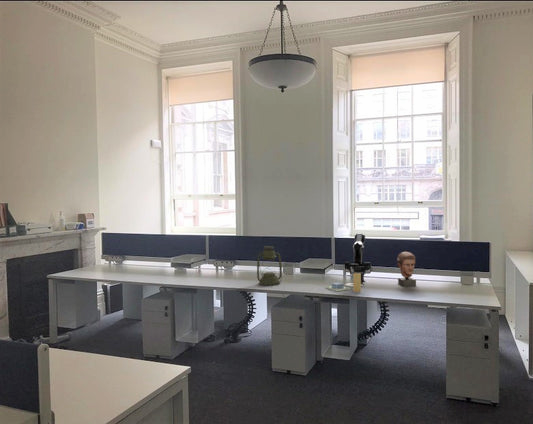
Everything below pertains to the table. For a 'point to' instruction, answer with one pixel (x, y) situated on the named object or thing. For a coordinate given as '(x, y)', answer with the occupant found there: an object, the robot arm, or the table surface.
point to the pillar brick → (357, 282)
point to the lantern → (269, 277)
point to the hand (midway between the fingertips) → (357, 275)
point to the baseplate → (337, 289)
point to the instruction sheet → (351, 284)
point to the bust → (406, 268)
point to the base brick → (337, 285)
